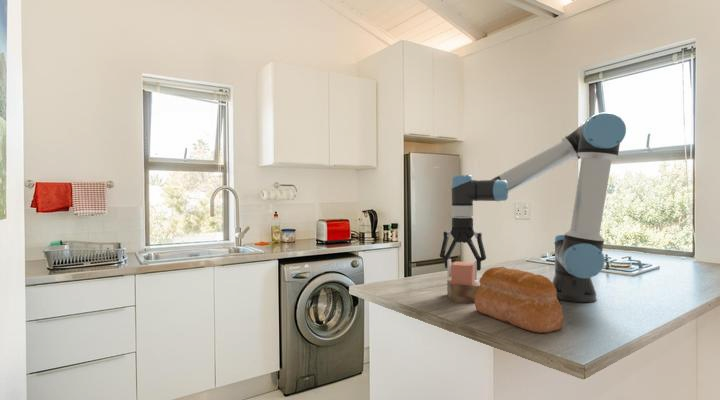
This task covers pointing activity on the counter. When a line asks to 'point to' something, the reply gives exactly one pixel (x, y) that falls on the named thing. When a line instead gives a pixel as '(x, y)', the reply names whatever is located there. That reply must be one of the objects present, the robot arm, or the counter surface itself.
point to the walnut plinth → (461, 292)
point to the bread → (519, 299)
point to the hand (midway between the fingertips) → (462, 277)
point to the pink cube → (462, 273)
